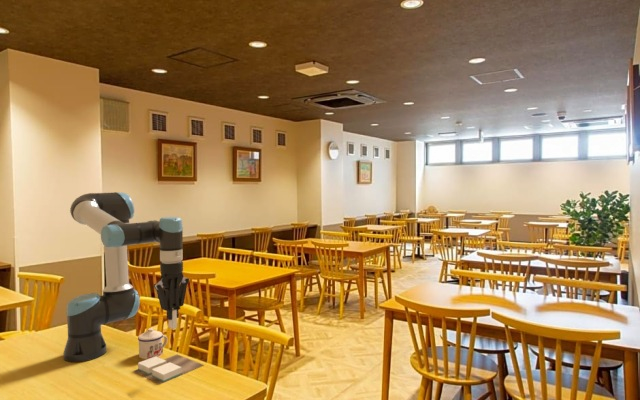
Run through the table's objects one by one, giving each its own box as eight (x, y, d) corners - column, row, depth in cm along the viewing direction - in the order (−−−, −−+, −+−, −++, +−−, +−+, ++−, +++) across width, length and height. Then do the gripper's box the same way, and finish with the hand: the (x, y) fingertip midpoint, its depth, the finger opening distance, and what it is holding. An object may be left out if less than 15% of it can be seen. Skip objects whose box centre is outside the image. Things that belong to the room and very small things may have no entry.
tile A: (155, 362, 157) (138, 369, 151) (155, 356, 157) (137, 362, 151) (166, 367, 153) (148, 374, 147) (166, 360, 153) (148, 367, 147)
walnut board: (133, 375, 150) (132, 371, 150) (177, 358, 165) (177, 354, 165) (159, 388, 140) (159, 384, 140) (204, 369, 154) (204, 365, 154)
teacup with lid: (148, 365, 159) (147, 334, 158) (133, 359, 164) (132, 330, 163) (174, 353, 169) (173, 325, 168) (160, 349, 174) (159, 321, 173)
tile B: (170, 369, 152) (152, 376, 146) (169, 362, 151) (151, 369, 146) (181, 374, 147) (163, 381, 142) (181, 367, 147) (163, 374, 142)
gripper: (160, 265, 140) (162, 335, 141) (193, 259, 150) (195, 324, 152) (148, 263, 145) (149, 330, 146) (181, 257, 155) (182, 320, 156)
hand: (172, 327), depth 149 cm, fingers closed
